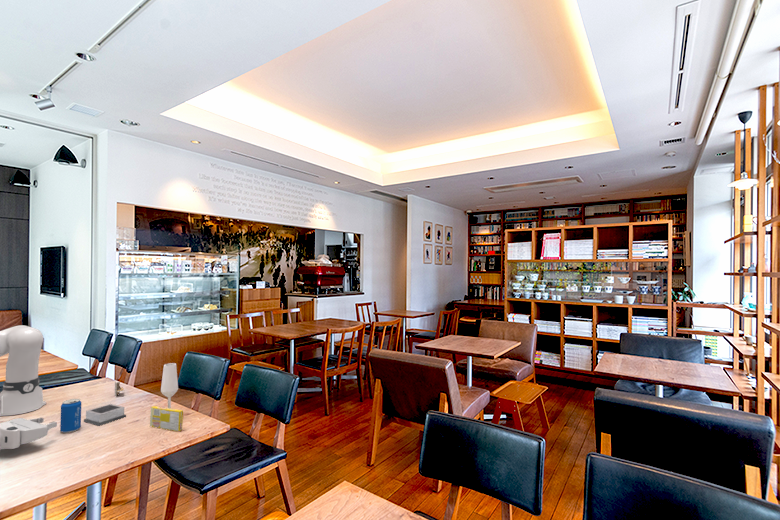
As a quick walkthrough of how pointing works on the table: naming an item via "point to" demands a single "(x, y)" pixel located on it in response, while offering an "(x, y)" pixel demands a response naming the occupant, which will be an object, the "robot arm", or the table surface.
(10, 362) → the robot arm
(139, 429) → the table surface
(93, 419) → the can holder
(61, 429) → the beverage can
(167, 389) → the champagne flute
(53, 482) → the table surface
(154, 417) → the candy box
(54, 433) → the table surface
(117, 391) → the architectural model
